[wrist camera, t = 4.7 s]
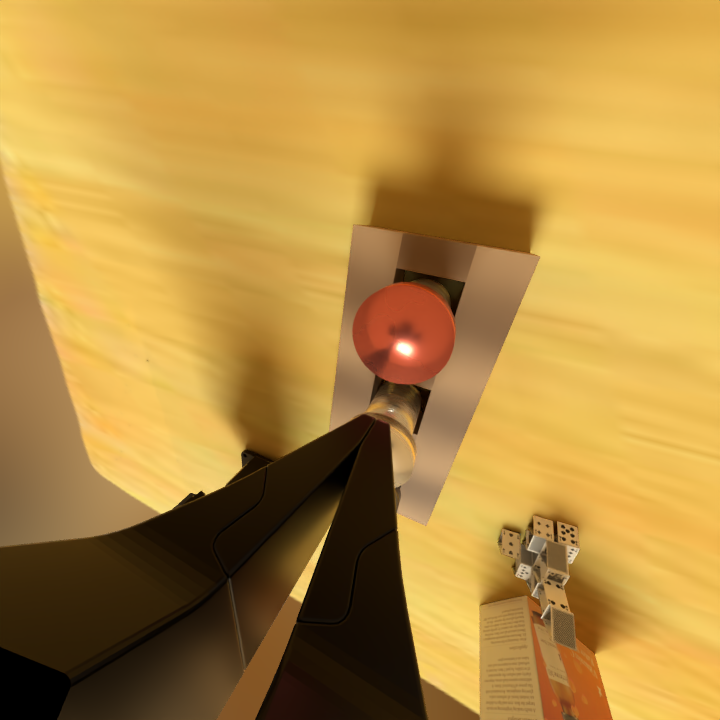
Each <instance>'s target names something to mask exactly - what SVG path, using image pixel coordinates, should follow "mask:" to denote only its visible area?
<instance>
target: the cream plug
mask: <svg viewBox="0 0 720 720" xmlns="http://www.w3.org/2000/svg"><path fill="white" fill-rule="evenodd" d="M421 405H422V398H421V395H420V393H419V391H418V390H417V388H416V387H415V386H414V385H412V384H397V383H393V382H389V381H387V382H385V383H384V384H383V385H382V386H381V387H380V389H379V390H378V392H377V394H376V395H375V397H374V398H373V400H372V402H371V403H370V405H369V407H368V408H367V410H366V412H365V413H361V414H358V415H356V416H354V417H353V418H352V419H351V420H353V419H354V418H356V417H358V416H360V415H362V414H367V415H369V416H372V417H374V418H375V419H376V420H377V419H380V420H382V421H385V422H387V423H389V424H390V431H391V444H392V458H393V472H394V486H395V488H396V487H399V486H401V485H403V484H404V483H406V482H407V481H408V480H409V478H410V477H411V474H412V471H413V467H414V463H415V460H416V455H417V448H416V444H415V441H414V439H413V437H412V435H413V431H414V428H415V425H416V422H417V418H418V415H419V412H420V409H421ZM351 420H350V421H351Z"/></svg>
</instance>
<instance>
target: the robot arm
mask: <svg viewBox="0 0 720 720" xmlns="http://www.w3.org/2000/svg"><path fill="white" fill-rule="evenodd" d="M241 457H242V469H241V470H240V471H239V472H238V473H237V474H236V475H235V476H234V477H233V478H232V479H231V480H230V481H229V482H228V483H227V484H226V486H225V487H223V488H221V489H219V490H216V491H214V492H212V493H210V494H208V495H206V494H205V493H204V492H202V491H200V492H199V493H198V494H193V493H190V494H189V495H188V496H187V497H186V498H184V499H183V500H182V501H181V502H180V503H179V504H178V505H177V506H176V507H174V508H173V509H172V510H170V511H168V512H165V513H163V514H161V515H158V516H156V517H154V518H151V519H149V520H146V521H144V522H142V523H139V524H136V525H134V526H131V527H129V528H126V529H122V530H119V531H116V532H112V533H108V534H104V535H99V536H94V537H87V538H78V539H68V540H59V541H49V542H40V543H31V544H21V545H10V546H1V547H0V720H216V719H217V718H218V716H219V714H220V713H221V711H222V709H223V708H224V706H225V704H226V702H227V701H228V699H229V697H230V696H231V694H232V692H233V690H234V689H235V687H236V685H237V683H238V682H239V680H240V678H241V677H242V675H243V673H244V670H245V669H246V668H247V666H248V665H249V663H250V661H251V659H252V657H253V656H254V654H255V653H256V651H257V649H258V647H259V646H260V644H261V642H262V641H263V639H264V637H265V636H266V634H267V632H268V630H269V629H270V627H271V625H272V624H273V622H274V620H275V618H276V617H277V615H278V613H279V611H280V610H281V608H282V606H283V605H284V603H285V601H286V600H287V598H288V596H289V594H290V593H291V591H292V589H293V588H294V586H295V584H296V582H297V581H298V579H299V577H300V576H301V574H302V572H303V571H304V569H305V567H306V565H307V564H308V562H309V560H310V559H311V557H312V555H313V553H314V552H315V550H316V548H317V547H318V545H319V543H320V541H321V540H322V538H323V536H324V535H325V533H326V531H327V529H328V528H329V526H330V524H331V523H332V524H331V527H330V529H329V532H328V535H327V538H326V540H325V543H324V546H323V548H322V551H321V554H320V557H319V559H318V562H317V565H316V568H315V570H314V573H313V576H312V579H311V581H310V584H309V587H308V590H307V592H306V595H305V598H304V601H303V603H302V606H301V609H300V612H299V614H298V617H297V621H296V624H295V626H294V628H293V631H292V633H291V636H290V639H289V641H288V644H287V647H286V649H285V652H284V654H283V657H282V659H281V662H280V665H279V667H278V669H277V672H276V674H275V676H274V678H273V681H272V683H271V685H270V688H269V690H268V692H267V694H266V697H265V699H264V701H263V703H262V706H261V708H260V710H259V712H258V714H257V717H256V719H255V720H428V715H427V711H426V706H425V701H424V695H423V690H422V685H421V679H420V674H419V669H418V663H417V658H416V653H415V647H414V642H413V636H412V631H411V626H410V620H409V615H408V610H407V604H406V597H405V591H404V585H403V578H402V570H401V561H400V551H399V539H398V531H397V514H396V500H395V486H394V472H393V458H392V444H391V431H390V424H389V423H387V422H385V421H382V420H380V419H377V420H376V419H375V418H374V417H372V416H369V415H367V414H362V415H360V416H358V417H356V418H354V419H353V420H351V421H349V422H347V423H345V424H343V425H341V426H340V427H338V428H336V429H334V430H332V431H330V432H328V433H326V434H325V435H323V436H321V437H319V438H317V439H315V440H313V441H312V442H310V443H308V444H306V445H304V446H302V447H300V448H298V449H297V450H295V451H293V452H291V453H289V454H287V455H285V456H284V457H282V458H280V459H278V460H276V461H274V462H273V461H271V460H269V459H267V458H264V457H262V456H260V455H258V454H255V453H253V452H251V451H249V450H244V451H243V452H242V453H241Z"/></svg>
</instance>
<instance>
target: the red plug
mask: <svg viewBox="0 0 720 720" xmlns="http://www.w3.org/2000/svg"><path fill="white" fill-rule="evenodd" d="M352 335H353V342H354V346H355V349H356V352H357V354H358V356H359V357H360V359H361V361H362V362H363V363H364V365H365V366H366V367H367V368H368V369H369V370H370V371H371V372H373V373H374V374H375V375H377V376H378V377H380V378H382V379H384V380H387V381H389V382H393V383H397V384H416V383H421V382H424V381H426V380H428V379H430V378H432V377H434V376H435V375H437V374H438V373H439V372H440V371H441V370H442V369H443V368H444V367H445V365H446V364H447V362H448V361H449V359H450V357H451V354H452V351H453V348H454V342H455V336H456V323H455V318H454V315H453V312H452V310H451V299H450V296H449V293H448V291H447V290H446V288H445V287H444V286H443V285H442V284H440V283H439V282H437V281H435V280H432V279H427V278H422V279H417V280H414V281H412V282H398V283H394V284H390V285H388V286H386V287H384V288H382V289H380V290H379V291H377V292H375V293H374V294H372V295H371V296H369V297H368V298H367V299H366V300H365V301H364V302H363V303H362V305H361V306H360V308H359V309H358V311H357V313H356V315H355V318H354V322H353V329H352Z"/></svg>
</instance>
